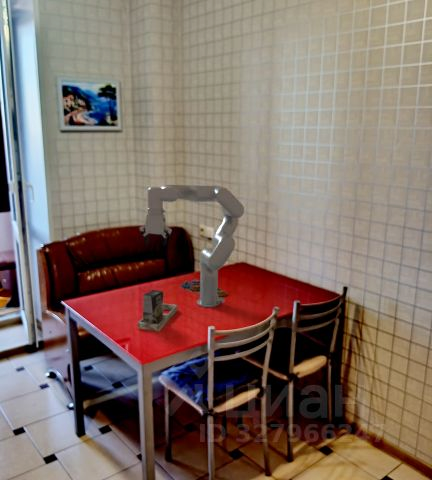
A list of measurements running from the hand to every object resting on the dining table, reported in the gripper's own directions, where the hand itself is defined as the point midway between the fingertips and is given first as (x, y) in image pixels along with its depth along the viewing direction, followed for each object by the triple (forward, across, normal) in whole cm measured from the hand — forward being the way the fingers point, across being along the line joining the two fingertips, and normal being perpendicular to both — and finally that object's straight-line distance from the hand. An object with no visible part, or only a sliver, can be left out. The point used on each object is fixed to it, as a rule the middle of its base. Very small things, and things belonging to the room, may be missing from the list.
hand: (155, 244), depth 236 cm
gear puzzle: (+37, -16, -38) cm, 55 cm away
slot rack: (+36, -5, +10) cm, 38 cm away
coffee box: (+36, -5, +17) cm, 40 cm away
